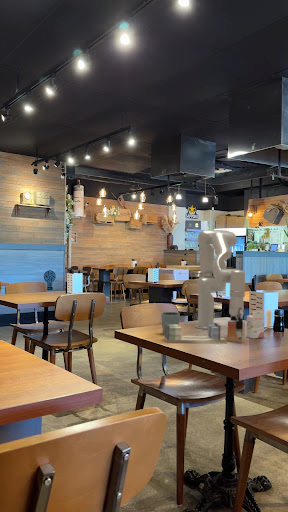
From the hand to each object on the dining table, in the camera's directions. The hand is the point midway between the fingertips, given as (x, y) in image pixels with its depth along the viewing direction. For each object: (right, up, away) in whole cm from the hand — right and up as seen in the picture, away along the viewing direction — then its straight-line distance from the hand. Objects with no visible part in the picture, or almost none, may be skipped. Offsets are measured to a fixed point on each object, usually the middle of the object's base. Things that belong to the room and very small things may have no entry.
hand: (236, 327), depth 219 cm
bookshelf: (-22, -7, -3) cm, 23 cm away
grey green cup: (-34, -7, +13) cm, 37 cm away
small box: (0, -8, 0) cm, 8 cm away
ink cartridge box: (+13, -8, +12) cm, 19 cm away
